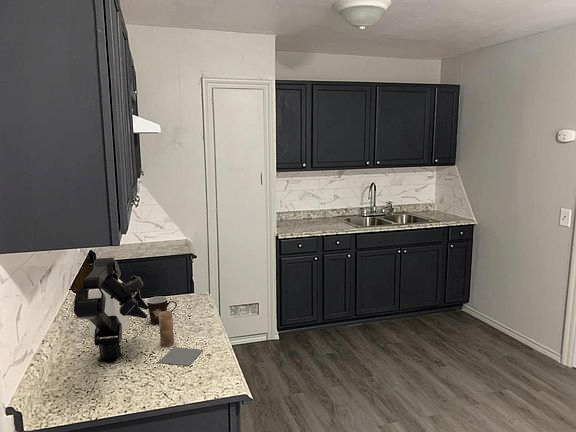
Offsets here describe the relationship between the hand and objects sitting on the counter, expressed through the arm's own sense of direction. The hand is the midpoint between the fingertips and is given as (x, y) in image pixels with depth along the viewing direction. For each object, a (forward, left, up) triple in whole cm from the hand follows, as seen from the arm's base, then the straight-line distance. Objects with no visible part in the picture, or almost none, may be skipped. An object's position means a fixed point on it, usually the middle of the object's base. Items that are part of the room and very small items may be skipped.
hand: (147, 313), depth 170 cm
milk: (-24, +11, -14) cm, 30 cm away
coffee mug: (-7, +23, -14) cm, 27 cm away
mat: (+16, -5, -13) cm, 21 cm away
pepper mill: (+6, +3, -13) cm, 15 cm away
